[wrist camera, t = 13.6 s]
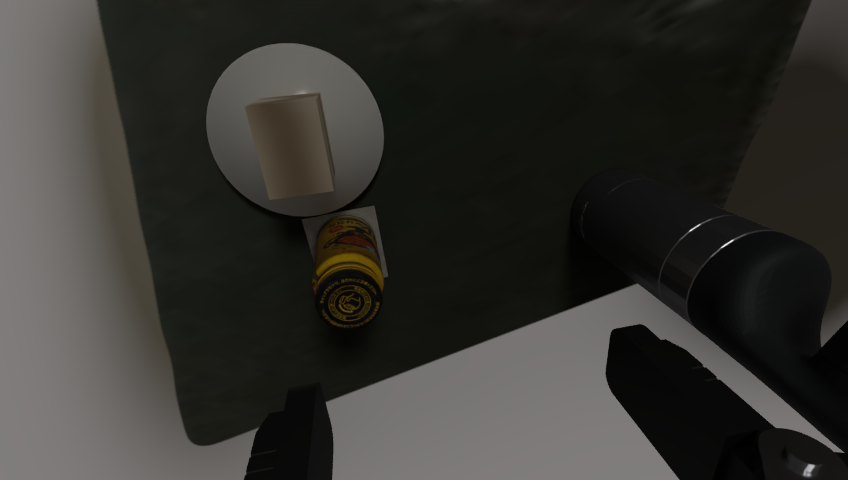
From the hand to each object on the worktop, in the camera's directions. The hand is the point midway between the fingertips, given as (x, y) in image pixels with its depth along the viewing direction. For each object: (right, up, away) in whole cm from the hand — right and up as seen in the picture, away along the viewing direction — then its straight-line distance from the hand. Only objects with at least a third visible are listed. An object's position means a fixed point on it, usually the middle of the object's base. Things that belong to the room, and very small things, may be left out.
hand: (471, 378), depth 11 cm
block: (-12, +13, +25) cm, 31 cm away
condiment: (-9, +3, +32) cm, 33 cm away
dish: (-13, +13, +26) cm, 32 cm away
